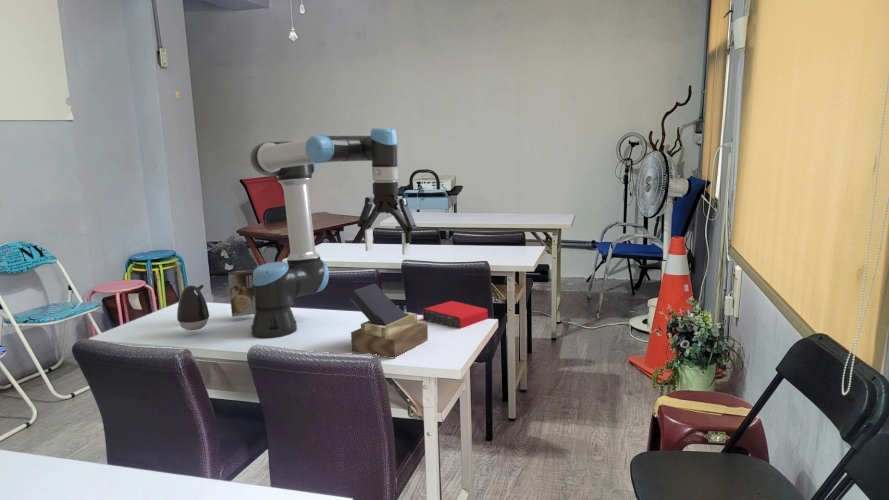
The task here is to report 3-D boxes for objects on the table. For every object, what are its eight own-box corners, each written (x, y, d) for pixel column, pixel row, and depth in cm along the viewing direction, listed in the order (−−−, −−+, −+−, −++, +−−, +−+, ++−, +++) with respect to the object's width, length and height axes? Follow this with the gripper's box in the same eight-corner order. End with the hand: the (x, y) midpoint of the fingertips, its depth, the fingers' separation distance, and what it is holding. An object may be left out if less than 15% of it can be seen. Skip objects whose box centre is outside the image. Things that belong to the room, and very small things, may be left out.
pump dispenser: (216, 325, 209) (213, 283, 206) (193, 334, 200) (189, 290, 197) (195, 322, 213) (192, 281, 211) (171, 330, 204) (167, 287, 201)
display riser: (351, 351, 180) (350, 322, 179) (386, 334, 196) (385, 308, 194) (395, 360, 172) (394, 330, 171) (427, 342, 188) (427, 314, 186)
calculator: (347, 298, 182) (379, 334, 178) (354, 288, 180) (386, 324, 176) (369, 290, 191) (399, 324, 187) (376, 281, 189) (406, 315, 185)
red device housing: (423, 322, 211) (422, 308, 210) (450, 313, 221) (450, 300, 220) (460, 332, 199) (460, 317, 198) (487, 322, 209) (487, 309, 208)
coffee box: (256, 310, 228) (253, 269, 226) (257, 314, 223) (254, 272, 220) (231, 312, 225) (227, 271, 222) (231, 317, 219) (228, 274, 217)
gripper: (344, 181, 179) (346, 250, 182) (413, 183, 166) (415, 257, 170) (359, 179, 185) (362, 247, 189) (427, 181, 172) (429, 253, 176)
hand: (387, 252), depth 179 cm, fingers open, 13 cm apart
